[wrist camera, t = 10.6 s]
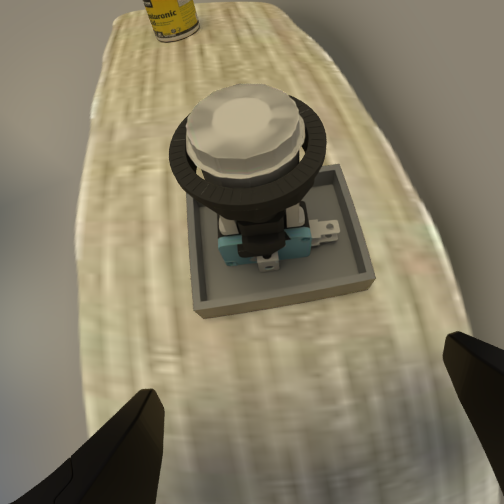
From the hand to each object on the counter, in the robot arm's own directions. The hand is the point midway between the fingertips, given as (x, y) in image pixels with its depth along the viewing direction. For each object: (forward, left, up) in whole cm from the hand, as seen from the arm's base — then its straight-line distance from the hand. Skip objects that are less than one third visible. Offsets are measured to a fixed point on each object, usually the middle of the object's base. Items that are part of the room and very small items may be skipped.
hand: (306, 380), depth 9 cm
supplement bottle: (+38, +6, -8) cm, 39 cm away
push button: (+8, 0, -8) cm, 11 cm away
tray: (+8, 0, -8) cm, 11 cm away
